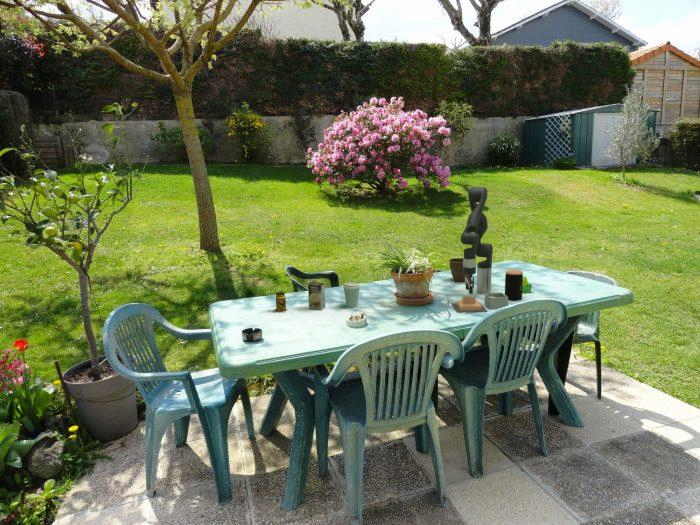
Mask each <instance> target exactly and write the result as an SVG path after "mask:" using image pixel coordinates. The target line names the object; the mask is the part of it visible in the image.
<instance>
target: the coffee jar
mask: <svg viewBox="0 0 700 525" xmlns="http://www.w3.org/2000/svg"><path fill="white" fill-rule="evenodd" d="M523 274H524V272H523V271H522V270H519V269H507V270H505V275H504V276H505V277H504V294H505V295H506V296H507V297H508V301H509V300H511V302H518V301H517V300H520V301H522V299H523V293H522V287H523V277H524V275H523Z"/></svg>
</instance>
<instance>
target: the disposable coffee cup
mask: <svg viewBox="0 0 700 525" xmlns="http://www.w3.org/2000/svg"><path fill="white" fill-rule="evenodd" d="M342 287H343V291H344V292H343V293H344V297H345V303H346V307H347V308H351V309H353V308H357V306H358V301H359V292H360V288H361V287H360V284H359V283H357V282H344V283H343V286H342Z"/></svg>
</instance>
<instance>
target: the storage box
mask: <svg viewBox="0 0 700 525" xmlns="http://www.w3.org/2000/svg"><path fill="white" fill-rule="evenodd" d="M484 305H485V306H486V307H487V309H489V310H499V309H498V308H502V307H505V306H508V307H509V300H508V297H507V296H506V295H505V292H491V293H485V294H484Z"/></svg>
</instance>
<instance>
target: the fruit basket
mask: <svg viewBox="0 0 700 525" xmlns="http://www.w3.org/2000/svg"><path fill="white" fill-rule="evenodd" d="M532 288H533V285H532V284H531V283H529V281H528V278H527V276H523V287H522V294H530V293H531V291H532Z"/></svg>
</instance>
